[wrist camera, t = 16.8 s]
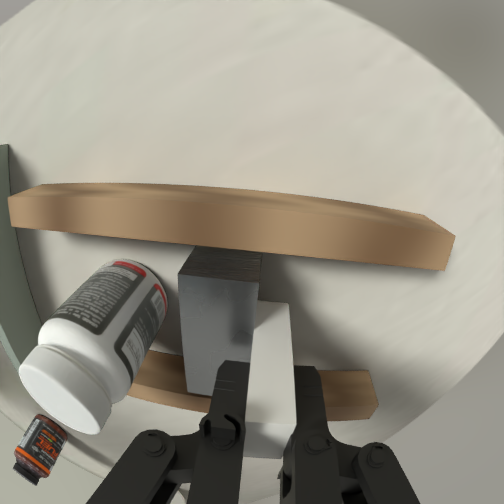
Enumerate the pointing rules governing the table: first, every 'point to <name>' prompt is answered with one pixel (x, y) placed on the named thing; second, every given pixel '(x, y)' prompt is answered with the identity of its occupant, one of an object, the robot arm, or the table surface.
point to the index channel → (242, 238)
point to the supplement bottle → (39, 449)
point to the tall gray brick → (217, 311)
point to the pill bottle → (95, 345)
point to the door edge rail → (14, 283)
